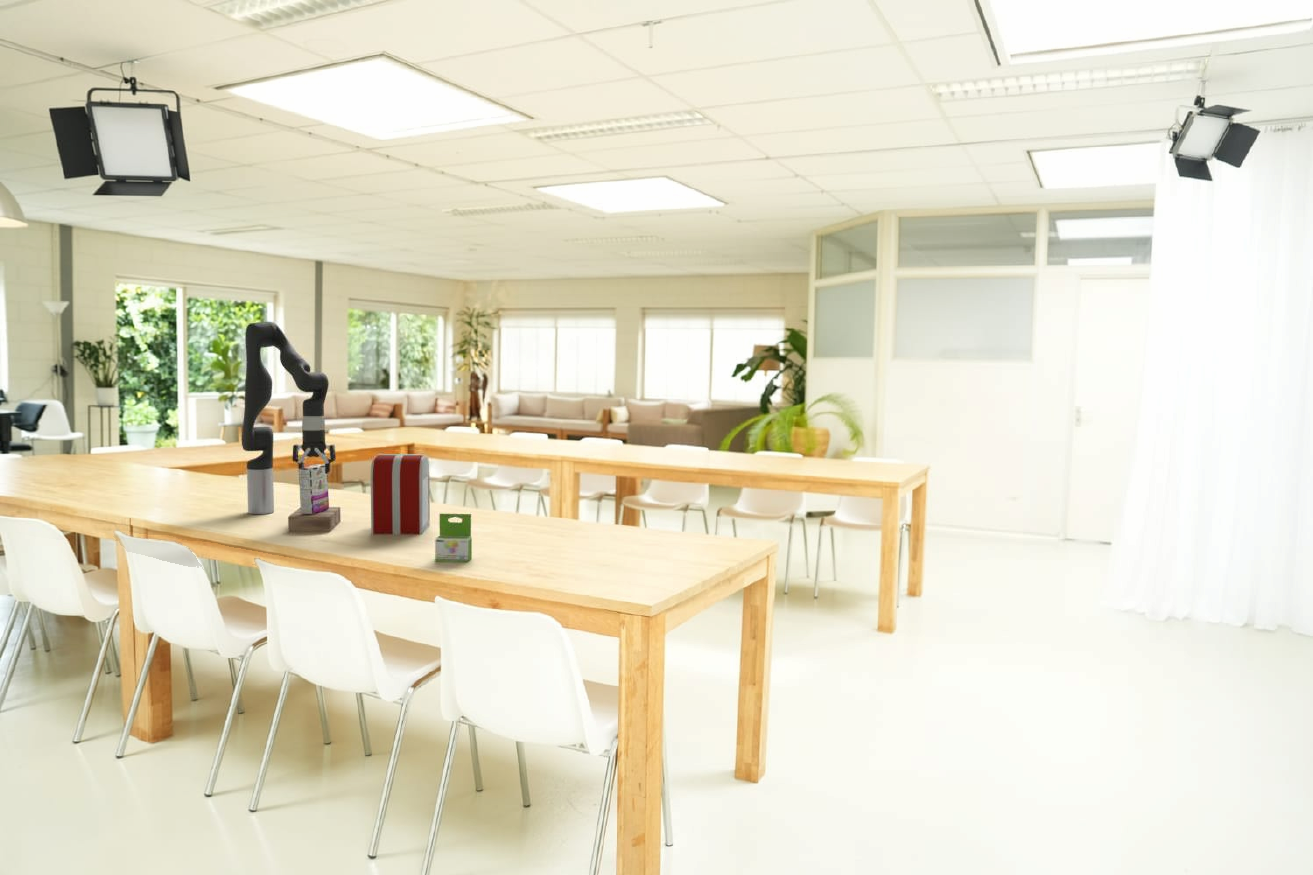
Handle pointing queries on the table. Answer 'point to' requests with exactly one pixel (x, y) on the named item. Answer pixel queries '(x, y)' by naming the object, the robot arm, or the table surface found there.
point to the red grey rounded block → (400, 494)
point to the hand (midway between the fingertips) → (314, 473)
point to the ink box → (454, 539)
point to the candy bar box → (313, 489)
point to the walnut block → (314, 521)
